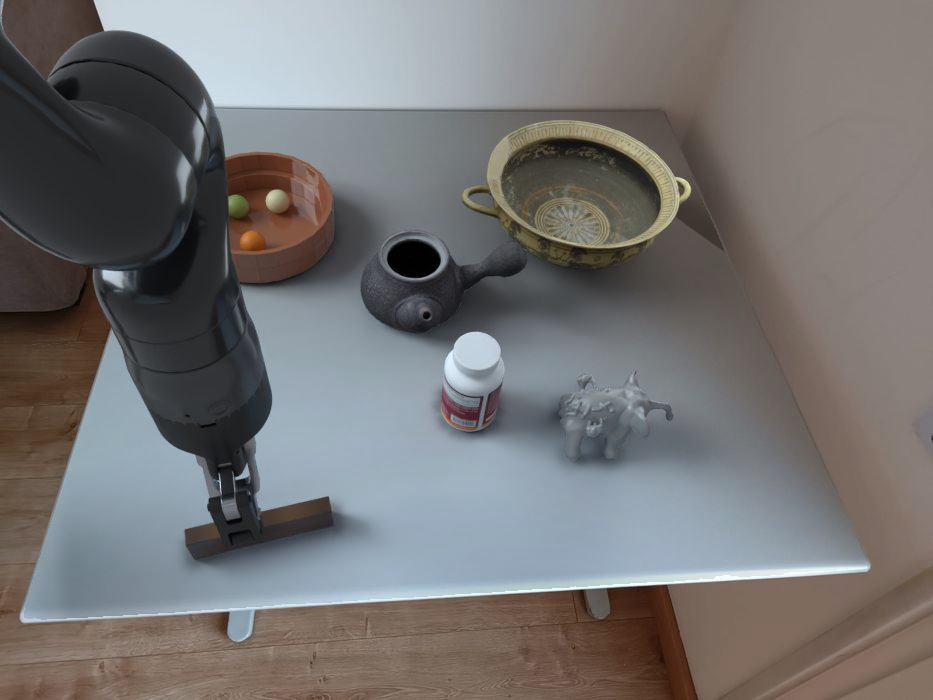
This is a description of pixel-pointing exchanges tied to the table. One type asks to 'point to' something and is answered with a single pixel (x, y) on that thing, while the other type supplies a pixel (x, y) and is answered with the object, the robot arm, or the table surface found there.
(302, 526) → the stick
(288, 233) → the bowl
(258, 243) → the ball orange
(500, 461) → the table surface
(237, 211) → the ball olive
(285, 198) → the ball cream
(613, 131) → the ceramic bowl
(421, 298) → the teapot
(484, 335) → the pill bottle
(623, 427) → the gray elephant figurine
